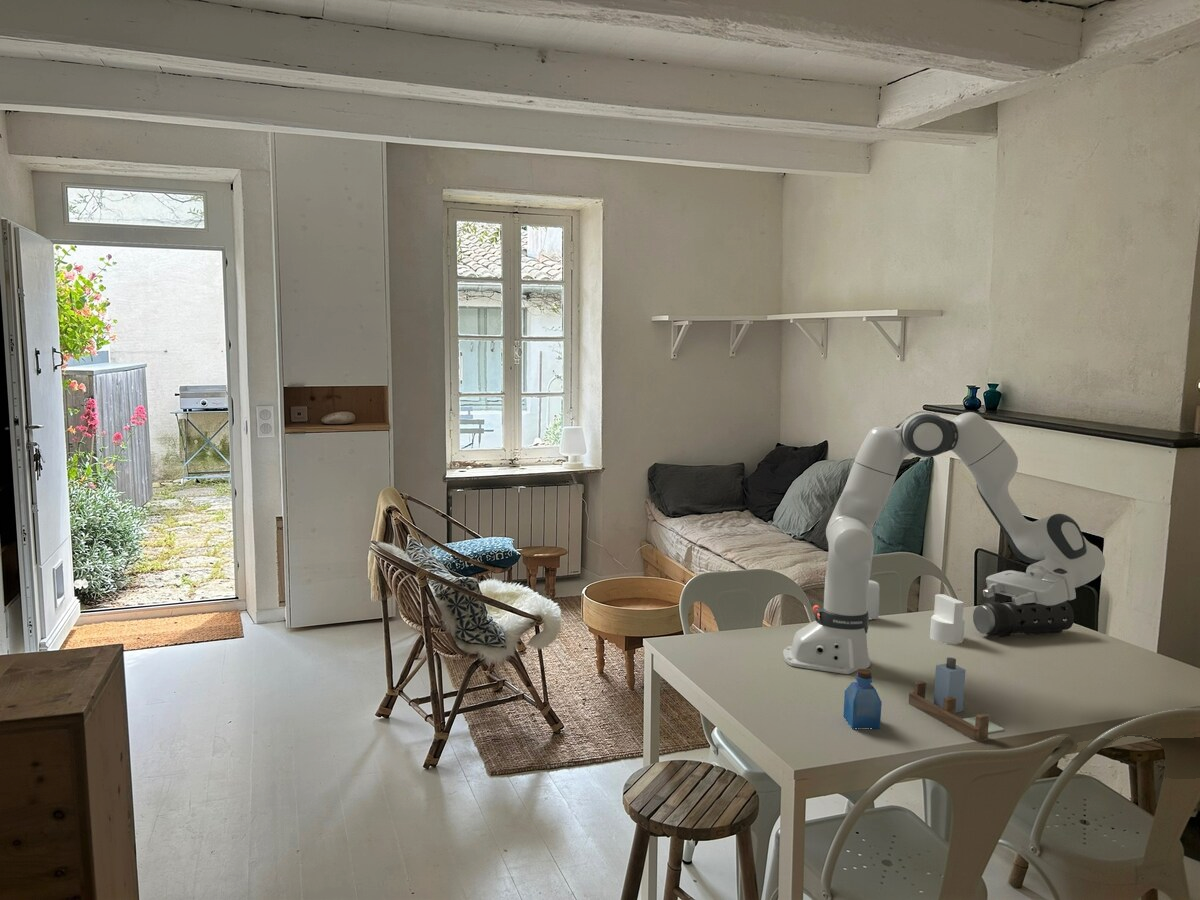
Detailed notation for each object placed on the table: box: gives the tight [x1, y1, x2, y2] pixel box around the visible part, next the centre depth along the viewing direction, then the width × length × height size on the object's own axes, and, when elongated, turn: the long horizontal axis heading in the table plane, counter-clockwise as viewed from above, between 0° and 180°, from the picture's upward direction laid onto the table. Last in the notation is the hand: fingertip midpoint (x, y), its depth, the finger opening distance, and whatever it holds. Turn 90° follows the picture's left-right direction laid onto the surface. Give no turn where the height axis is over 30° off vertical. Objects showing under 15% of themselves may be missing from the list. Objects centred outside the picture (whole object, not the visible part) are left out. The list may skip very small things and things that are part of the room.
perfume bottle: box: [842, 668, 883, 730], centre depth 196 cm, size 6×6×12 cm
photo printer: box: [867, 579, 881, 621], centre depth 271 cm, size 10×4×12 cm, turn 96°
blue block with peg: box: [933, 657, 967, 714], centre depth 204 cm, size 4×4×12 cm
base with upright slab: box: [929, 593, 966, 645], centre depth 254 cm, size 9×9×12 cm
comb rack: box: [908, 680, 1005, 741], centre depth 200 cm, size 10×21×5 cm, turn 21°
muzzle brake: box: [972, 600, 1075, 638], centre depth 260 cm, size 10×28×10 cm, turn 104°
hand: (999, 597), depth 209 cm, fingers open, 8 cm apart
